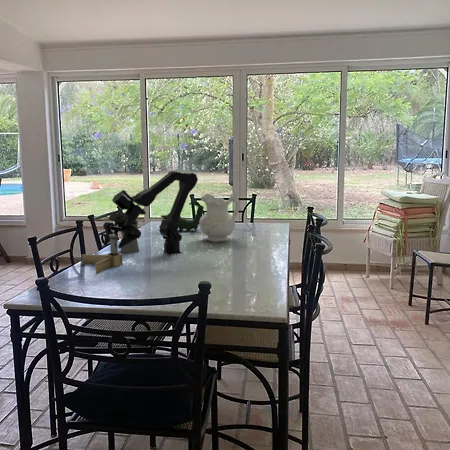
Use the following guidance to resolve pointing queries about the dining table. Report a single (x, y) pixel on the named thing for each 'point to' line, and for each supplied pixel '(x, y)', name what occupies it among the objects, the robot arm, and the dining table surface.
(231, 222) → the ceramic pitcher
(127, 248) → the coffeepot
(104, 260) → the hinge
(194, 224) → the toy figurine
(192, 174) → the robot arm
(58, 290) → the dining table surface
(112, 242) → the hinge pin
